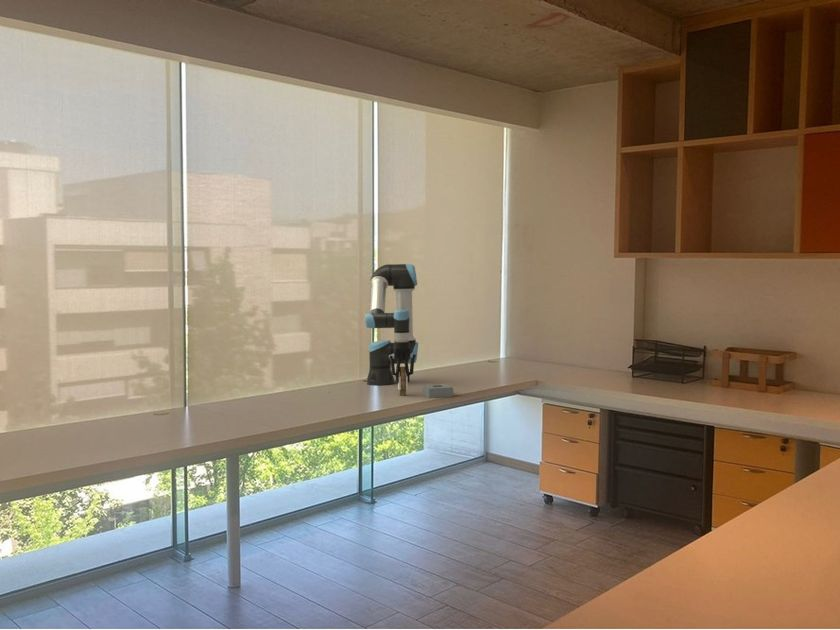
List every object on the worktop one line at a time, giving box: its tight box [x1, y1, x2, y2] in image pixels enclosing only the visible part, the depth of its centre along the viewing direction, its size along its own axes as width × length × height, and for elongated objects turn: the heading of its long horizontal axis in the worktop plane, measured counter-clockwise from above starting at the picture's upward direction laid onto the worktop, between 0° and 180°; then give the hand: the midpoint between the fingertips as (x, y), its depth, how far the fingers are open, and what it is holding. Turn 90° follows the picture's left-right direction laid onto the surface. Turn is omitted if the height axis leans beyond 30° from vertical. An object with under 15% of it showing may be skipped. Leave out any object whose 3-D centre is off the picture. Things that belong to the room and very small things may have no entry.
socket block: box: [422, 383, 454, 399], centre depth 369 cm, size 12×12×4 cm
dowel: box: [399, 366, 407, 397], centre depth 370 cm, size 3×3×14 cm
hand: (402, 389), depth 370 cm, fingers closed on dowel, 3 cm apart
